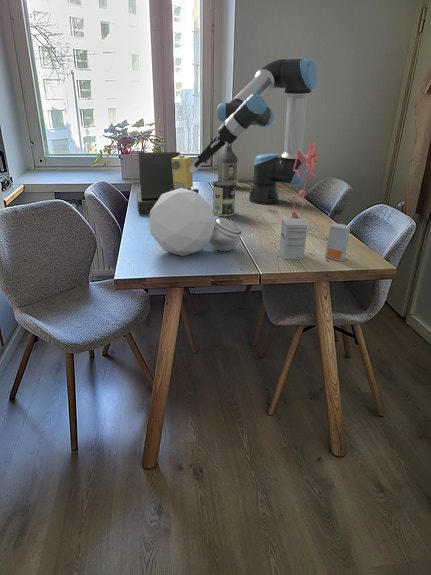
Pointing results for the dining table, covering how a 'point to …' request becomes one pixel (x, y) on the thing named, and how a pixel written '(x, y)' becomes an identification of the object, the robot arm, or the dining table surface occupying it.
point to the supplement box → (293, 238)
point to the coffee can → (223, 198)
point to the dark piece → (154, 178)
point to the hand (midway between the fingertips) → (190, 171)
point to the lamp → (190, 224)
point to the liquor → (227, 165)
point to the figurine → (310, 167)
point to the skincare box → (337, 241)
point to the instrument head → (182, 171)
